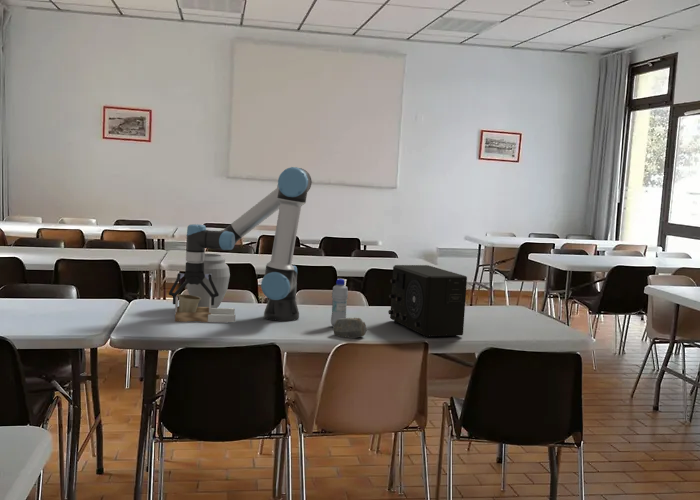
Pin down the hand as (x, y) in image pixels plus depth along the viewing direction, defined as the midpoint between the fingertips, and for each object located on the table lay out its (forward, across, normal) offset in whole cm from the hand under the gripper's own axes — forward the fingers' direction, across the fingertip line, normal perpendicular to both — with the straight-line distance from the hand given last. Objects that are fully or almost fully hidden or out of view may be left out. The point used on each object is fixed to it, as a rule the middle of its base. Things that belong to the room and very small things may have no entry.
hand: (193, 312), depth 291 cm
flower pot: (+2, +3, 0) cm, 4 cm away
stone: (+2, -61, +30) cm, 68 cm away
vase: (+2, -5, -20) cm, 21 cm away
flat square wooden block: (+2, 0, 0) cm, 2 cm away
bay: (+2, -12, 0) cm, 12 cm away
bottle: (+2, -59, +13) cm, 61 cm away
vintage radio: (+2, -95, +14) cm, 96 cm away
